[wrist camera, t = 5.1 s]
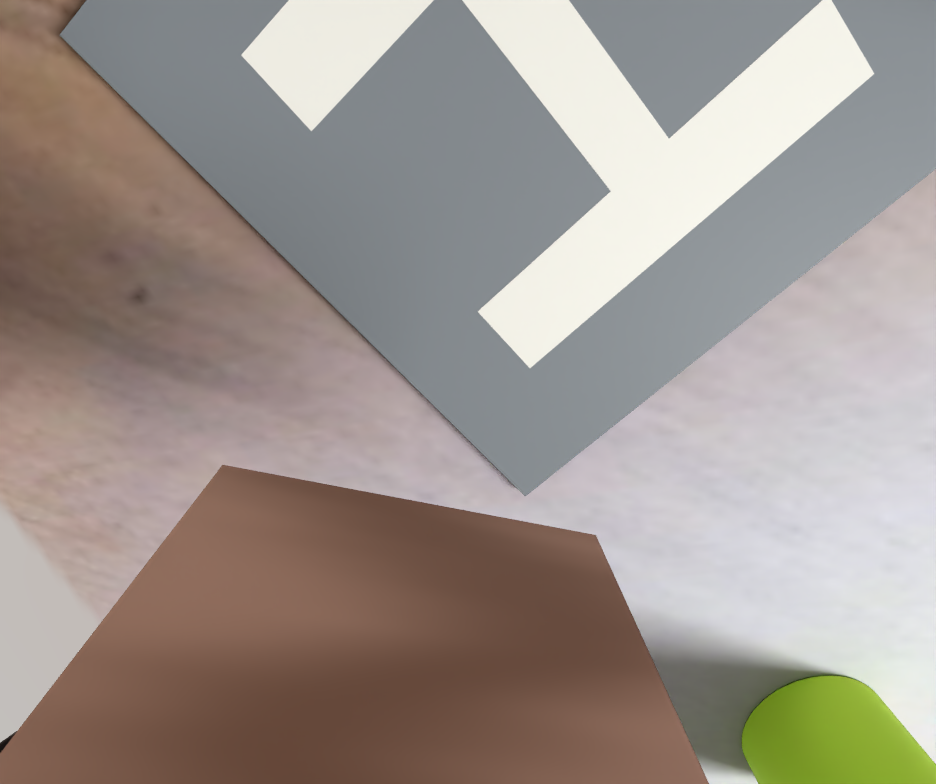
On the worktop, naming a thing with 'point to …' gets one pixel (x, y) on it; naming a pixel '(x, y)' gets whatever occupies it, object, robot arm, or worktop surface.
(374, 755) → the terracotta block
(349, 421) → the worktop surface
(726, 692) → the worktop surface
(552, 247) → the board
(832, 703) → the soap dispenser
